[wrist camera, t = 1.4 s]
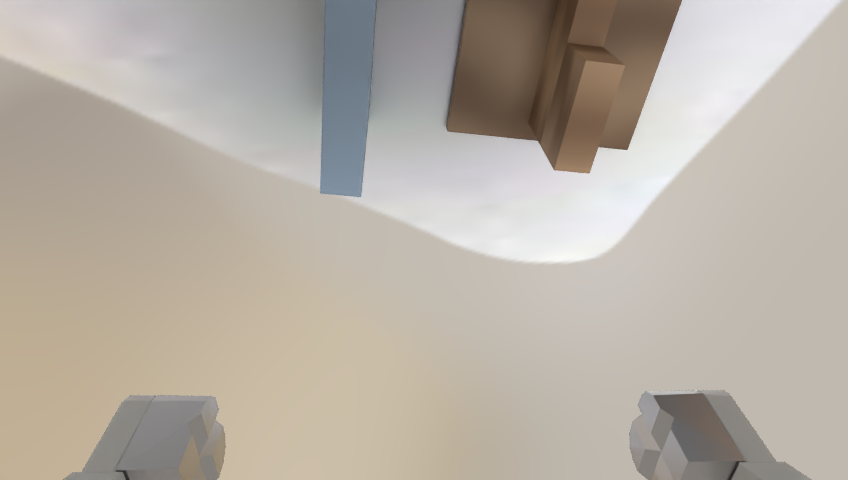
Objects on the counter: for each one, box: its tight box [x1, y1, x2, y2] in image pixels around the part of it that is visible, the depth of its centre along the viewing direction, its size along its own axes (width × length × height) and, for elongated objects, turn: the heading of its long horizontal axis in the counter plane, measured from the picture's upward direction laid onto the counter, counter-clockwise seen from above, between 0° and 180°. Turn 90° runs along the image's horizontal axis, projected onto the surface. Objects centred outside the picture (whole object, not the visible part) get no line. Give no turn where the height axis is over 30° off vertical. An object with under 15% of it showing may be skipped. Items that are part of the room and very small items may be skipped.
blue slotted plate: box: [320, 0, 377, 197], centre depth 25 cm, size 10×2×9 cm, turn 173°
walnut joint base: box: [446, 0, 682, 173], centre depth 25 cm, size 16×11×7 cm
